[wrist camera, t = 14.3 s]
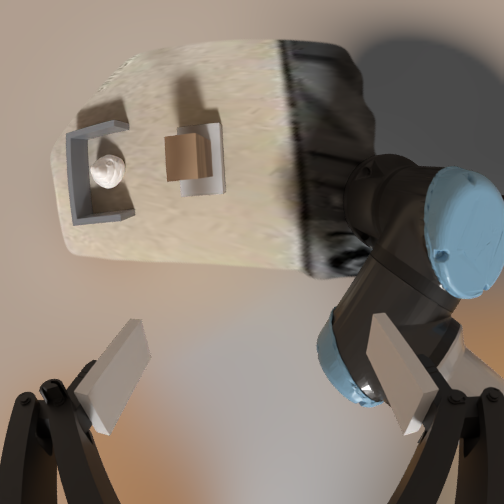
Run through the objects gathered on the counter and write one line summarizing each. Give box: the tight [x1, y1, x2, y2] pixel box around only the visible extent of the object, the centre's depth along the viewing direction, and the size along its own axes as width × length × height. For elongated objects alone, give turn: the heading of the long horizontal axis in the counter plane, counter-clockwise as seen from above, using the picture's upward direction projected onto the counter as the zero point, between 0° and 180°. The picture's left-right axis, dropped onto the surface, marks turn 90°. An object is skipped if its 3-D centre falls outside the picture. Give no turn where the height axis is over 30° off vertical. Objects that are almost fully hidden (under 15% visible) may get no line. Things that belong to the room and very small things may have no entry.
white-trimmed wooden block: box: [165, 123, 226, 197], centre depth 34 cm, size 6×10×12 cm, turn 3°
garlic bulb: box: [90, 155, 125, 189], centre depth 38 cm, size 6×6×5 cm
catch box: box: [66, 120, 135, 226], centre depth 38 cm, size 10×15×5 cm, turn 3°
